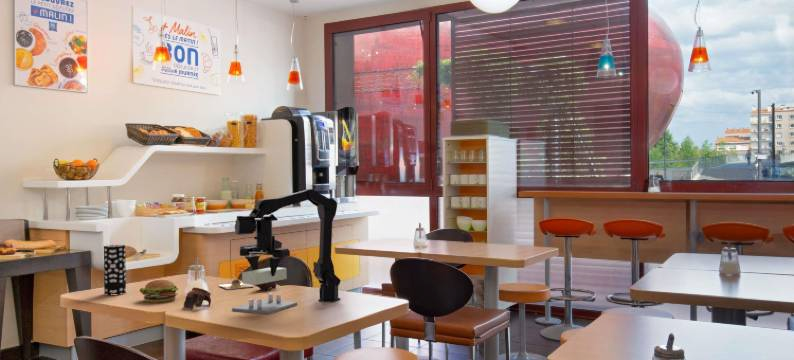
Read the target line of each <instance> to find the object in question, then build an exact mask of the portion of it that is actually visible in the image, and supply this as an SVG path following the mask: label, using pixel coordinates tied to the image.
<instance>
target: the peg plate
mask: <svg viewBox="0 0 794 360" xmlns="http://www.w3.org/2000/svg"><path fill="white" fill-rule="evenodd" d="M275 296H276V298H275V299H276V300H275V299H274V294H273V293H268V294H267V299H262V298H261V299H257V300H255V301H254V299H253V298H250V299H248V302H247V303H244V304H242V305H241V304H240V305H239V306H235V307H232V308H231V311H232V312H239V313H240V312H241V313H252V314H264V315H270V314H275V313H277V312H280V311H283V310H285V309H289V308H292V307H295V306H297V305H298V302H297V301H286V300H282V294H281V293H277V294H276V295H275Z"/></svg>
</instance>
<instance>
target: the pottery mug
mask: <svg viewBox="0 0 794 360" xmlns="http://www.w3.org/2000/svg"><path fill="white" fill-rule="evenodd" d="M211 295H212V292H209V291H207V289H206V290H205V289H203V288H200V287H192V288H191V290H190V291H188V292H187V293H186V296H185V300H184V302H183V308H184V309H190V310H194V307H196V308H201V307H202V305H203V302H204V301H206V302H207V303H208V304H207V305H208V306H210V305H211V303H212V299H211Z"/></svg>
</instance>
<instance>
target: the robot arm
mask: <svg viewBox="0 0 794 360" xmlns="http://www.w3.org/2000/svg"><path fill="white" fill-rule="evenodd" d="M306 201H308V202H310V203H311V204H312V205H314V206H315V207H316V208H317V209H316V210H317V215H318V218H319V220H320V221H319V223H320V224H319V247H318V248H319V249H318V251H319V252H318V259H317V261H313V270H312V273H314V277H315V279H317V280H318V283H319V284H320V286H319V289H318V290H319V299H318V302H326V303H327V302H328V303H334V302H337V301H340V300H341V297H339V286H340V284H341V281H342V280H341V279H340V278H339V277H338V276H337V275H336V274H335V273H336V272H335V265H334V263H333V260H332V243H333V242H332V240H333V221H334V218H335V217H336V214H337V211H338V210H337V209H338V202H337V201H336V200H335V199H334V198H333V197H327V196H325V195H323V194H321V193H319V192H317V191H316V190H315V189H312V188H305V189H304V190H301V191H297V192H294V193H290V194H286V195H283V196H279V197H269V198H260V199H257V200H256V201H255V203H254V206H253V209H252V210H251V212H250V213H249V215H237V216H236V220H235V224H234V232H235V234H236V235H239V236H240V235H242V236H243V235H253V234H254V232H255V233H256V234H255V235H256V236H254V237H253V238H254V239H253V240H256V246H246V247H241V248H240V250H239V256H240V257H244V259H246V260H247V262H248V264H249V265H250V267H251V269H252V271H253V270H259V261H260V257H261V255H262V256H272V257H270V258H269V257H268V258H269V266H270V267H269V268H271V274H272V276H275V273H276V270H277V267H278V266H279V264H280V262H281V261H282V259H285V258H286V257H290V256H291V251H290V249H289V248H288V247H287V248H285V247H284V248H283V246H282V245H283V242H281V241H280V240H277V239H275V238H276V236H275V235H274V234H273V222H274V221H278V218H277V217H276V216H275V215H274V213H275V212H277V211H279V210H280V209H282V208H285V207H289V206H293V205H295V204H298V203H301V202H306Z"/></svg>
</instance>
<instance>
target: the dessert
mask: <svg viewBox="0 0 794 360" xmlns="http://www.w3.org/2000/svg"><path fill="white" fill-rule="evenodd" d="M242 285H243V286H242ZM218 287H220V288H223V289H225V290H228V291H230V290H240V289H241V290H242V289H249V288H250V287H251V288H253V287H254V285H251V284H243V283H242V282H240V280H239V279H238V278H237V277H233V280H232V281H231V283H229V284H227V283H226V284H219V285H218ZM226 287H230V288H226Z"/></svg>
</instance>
